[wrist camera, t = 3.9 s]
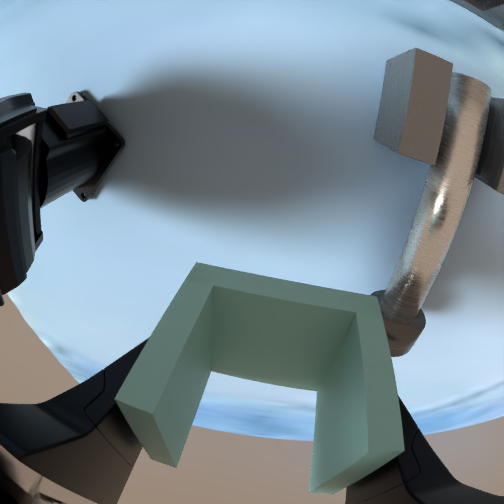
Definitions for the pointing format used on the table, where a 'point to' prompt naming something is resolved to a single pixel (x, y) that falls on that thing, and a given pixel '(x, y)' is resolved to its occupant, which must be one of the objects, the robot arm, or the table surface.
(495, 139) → the cradle rig
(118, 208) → the table surface
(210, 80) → the table surface
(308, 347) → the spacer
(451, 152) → the shaft
